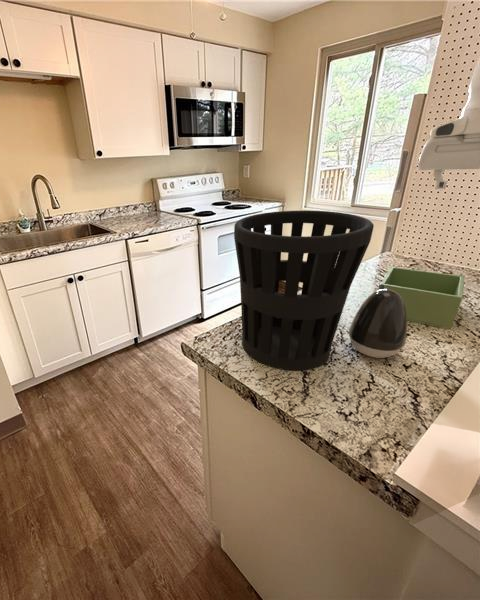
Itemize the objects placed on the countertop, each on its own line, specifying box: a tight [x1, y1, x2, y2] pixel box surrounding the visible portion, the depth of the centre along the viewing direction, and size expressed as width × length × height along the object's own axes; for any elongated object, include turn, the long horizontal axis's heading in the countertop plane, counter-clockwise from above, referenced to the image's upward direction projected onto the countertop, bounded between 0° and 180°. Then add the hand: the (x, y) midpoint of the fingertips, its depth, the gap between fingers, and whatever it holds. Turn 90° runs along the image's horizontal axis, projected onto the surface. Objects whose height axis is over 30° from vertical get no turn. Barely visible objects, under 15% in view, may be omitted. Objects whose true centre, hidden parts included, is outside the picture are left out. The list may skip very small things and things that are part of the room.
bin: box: [379, 266, 466, 330], centre depth 83 cm, size 16×16×9 cm
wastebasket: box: [233, 210, 375, 372], centre depth 69 cm, size 25×25×30 cm
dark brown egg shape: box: [348, 283, 408, 359], centre depth 67 cm, size 10×10×15 cm
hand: (465, 189), depth 73 cm, fingers open, 8 cm apart
